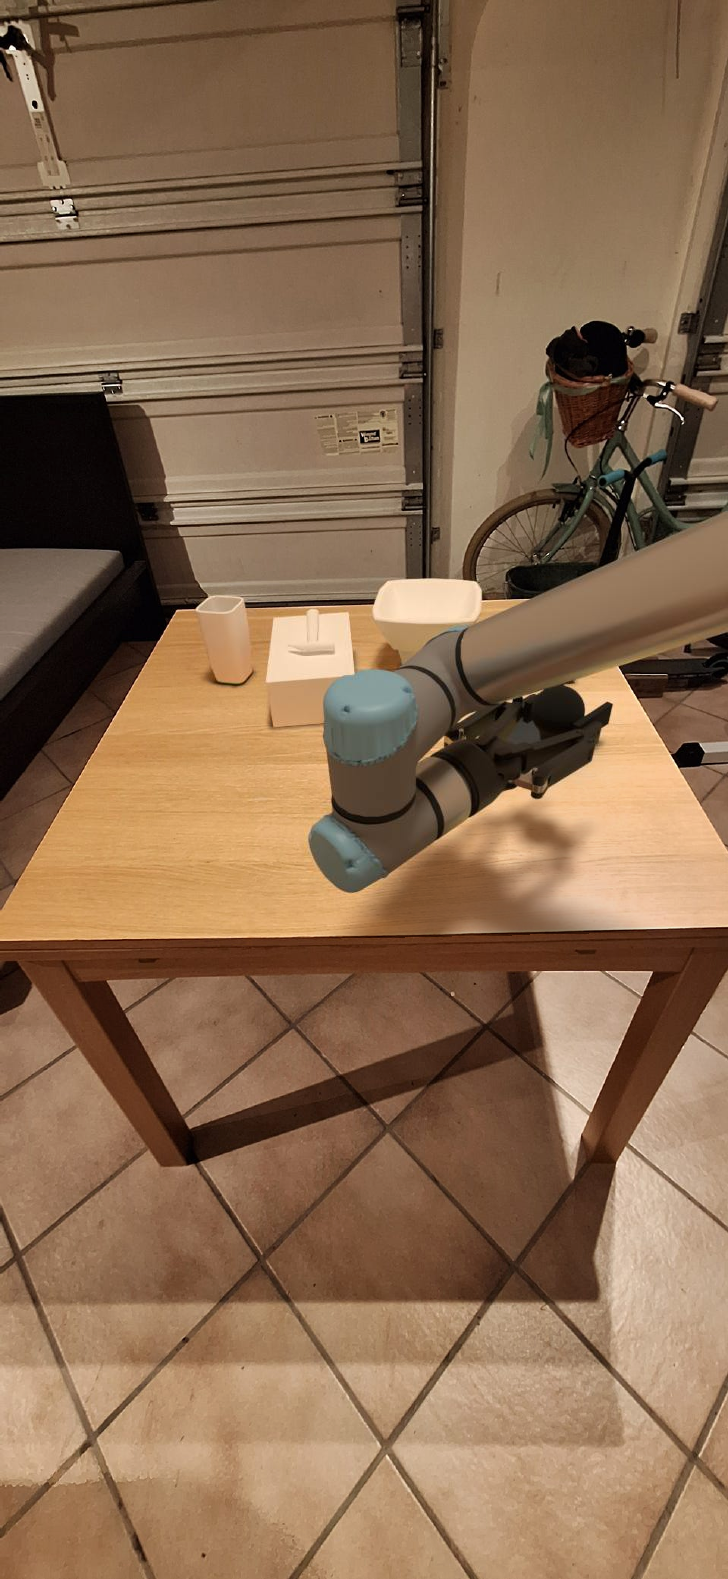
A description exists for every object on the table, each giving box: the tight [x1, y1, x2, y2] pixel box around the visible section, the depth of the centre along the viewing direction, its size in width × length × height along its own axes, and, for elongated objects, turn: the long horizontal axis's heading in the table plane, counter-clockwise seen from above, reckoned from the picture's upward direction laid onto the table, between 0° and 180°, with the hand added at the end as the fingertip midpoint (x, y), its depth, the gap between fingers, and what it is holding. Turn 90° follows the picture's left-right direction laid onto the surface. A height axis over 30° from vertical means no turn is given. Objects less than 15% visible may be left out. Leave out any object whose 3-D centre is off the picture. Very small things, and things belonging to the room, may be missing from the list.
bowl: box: [371, 578, 483, 665], centre depth 115 cm, size 19×19×14 cm
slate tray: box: [478, 717, 602, 768], centre depth 99 cm, size 14×13×3 cm
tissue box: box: [265, 608, 356, 728], centre depth 114 cm, size 14×25×11 cm, turn 3°
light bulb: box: [531, 685, 586, 740], centre depth 73 cm, size 6×6×10 cm
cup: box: [195, 595, 253, 685], centre depth 117 cm, size 7×7×15 cm
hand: (583, 702), depth 75 cm, fingers closed on light bulb, 6 cm apart
